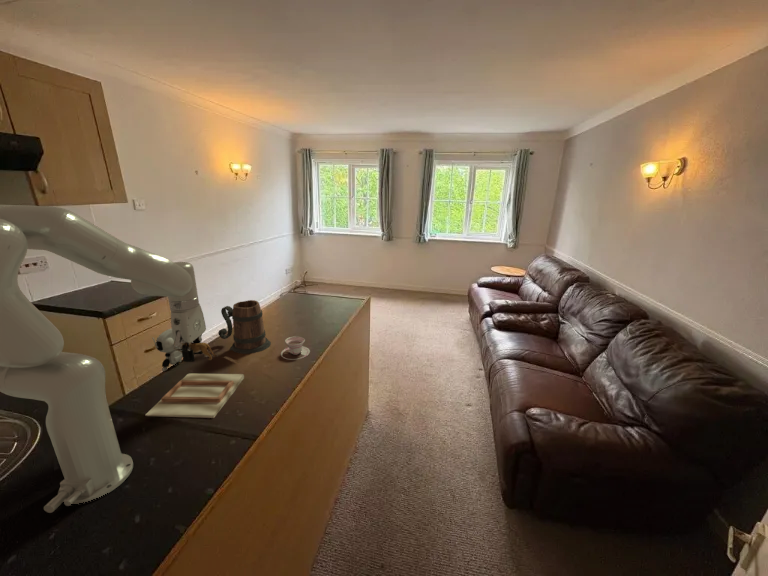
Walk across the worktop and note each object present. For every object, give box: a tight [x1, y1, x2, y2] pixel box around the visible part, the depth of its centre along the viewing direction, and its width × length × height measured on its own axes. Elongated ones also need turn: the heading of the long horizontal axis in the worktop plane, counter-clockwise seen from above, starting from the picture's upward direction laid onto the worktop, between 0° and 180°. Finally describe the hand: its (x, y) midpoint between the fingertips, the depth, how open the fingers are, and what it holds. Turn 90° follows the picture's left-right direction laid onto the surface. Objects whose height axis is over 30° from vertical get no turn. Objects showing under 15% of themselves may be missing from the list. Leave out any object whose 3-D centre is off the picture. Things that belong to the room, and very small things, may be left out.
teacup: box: [280, 335, 311, 361], centre depth 132 cm, size 12×12×6 cm
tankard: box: [218, 299, 272, 355], centre depth 135 cm, size 24×17×20 cm
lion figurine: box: [174, 341, 219, 361], centre depth 99 cm, size 12×4×7 cm, turn 105°
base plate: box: [145, 373, 245, 419], centre depth 103 cm, size 22×20×3 cm
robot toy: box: [152, 327, 183, 372], centre depth 119 cm, size 12×4×15 cm, turn 166°
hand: (193, 356), depth 99 cm, fingers closed on lion figurine, 4 cm apart
